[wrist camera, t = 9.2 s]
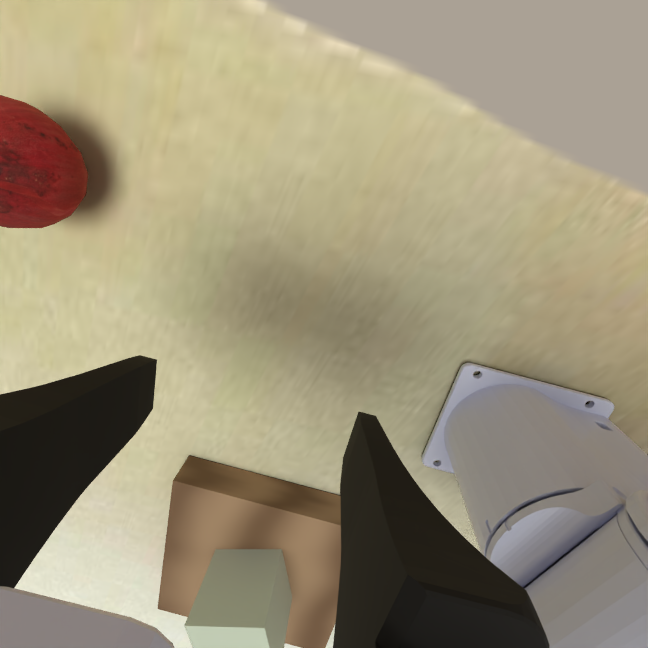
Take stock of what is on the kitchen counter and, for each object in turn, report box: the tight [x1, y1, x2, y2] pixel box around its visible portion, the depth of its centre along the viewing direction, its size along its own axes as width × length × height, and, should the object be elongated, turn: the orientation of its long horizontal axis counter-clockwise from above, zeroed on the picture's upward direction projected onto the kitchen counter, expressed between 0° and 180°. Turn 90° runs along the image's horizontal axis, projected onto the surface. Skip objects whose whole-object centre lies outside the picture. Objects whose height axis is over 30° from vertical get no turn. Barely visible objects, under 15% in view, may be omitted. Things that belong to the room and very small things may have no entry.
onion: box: [0, 95, 88, 228], centre depth 17 cm, size 6×6×8 cm
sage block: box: [185, 549, 292, 648], centre depth 25 cm, size 5×5×5 cm
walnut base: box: [158, 456, 341, 648], centre depth 28 cm, size 14×14×2 cm
